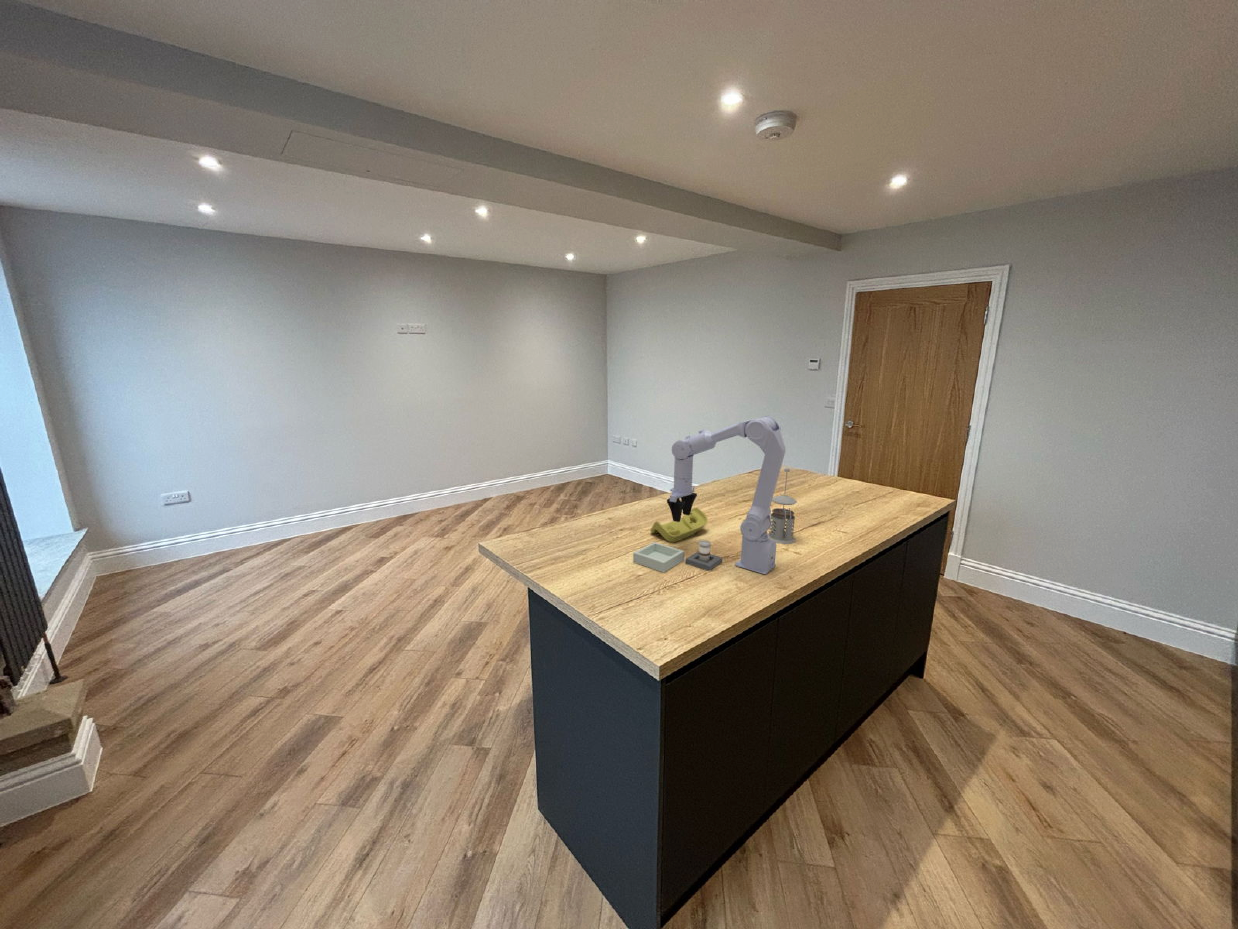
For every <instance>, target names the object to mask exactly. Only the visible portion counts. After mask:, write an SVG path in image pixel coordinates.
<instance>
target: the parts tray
mask: <svg viewBox="0 0 1238 929" xmlns="http://www.w3.org/2000/svg"><path fill="white" fill-rule="evenodd" d="M684 561H685V551H684V550H682V549H679V548H676V547H672V546H669V545H666V544H662V543H659V542H656V541H653V542H651V543H650V544H648V545H646V546H644V547H641V548H640V549H638V550H635V551H634V552H633V553H632V563H635V564H638V565H641V566H643V567H645V568H649V569H653V570H655V571H658V572H660V573H666V572H667V571H669V570H670V569H672V568H674V567H675V566H677V565H679V564H681V563H682V562H684Z"/></svg>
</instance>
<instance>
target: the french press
mask: <svg viewBox="0 0 1238 929" xmlns="http://www.w3.org/2000/svg"><path fill="white" fill-rule="evenodd" d="M783 471H784V472H786V474H785V482H787V481H788V480H787V479H788V473H790V472H791V469H790V468H789V467H785V468H784V469H783ZM784 485H785V487H784V495H783V494H782V495H781V494H780V495H776V496H773V498H772V502H773V503H774V504H777V505H783V507H782V508H781V507H780V508H774V509H772V510H771V514H770V519H771V527H770V528H769V529H768V533H767V534H768V539H769V540H771V541H773V542H775V543H776V544H781V545H791V544H794V543H796V538H795V537H794V530H795V529H794V528H795V521H796V517H795V512H794V511H793V510H791V508H790V507H789V508H788V509H787V508H785V506H792V505H796V504H797V503H798V501H797V500H796V498H794V497H791V496H789V495H786V492H787V491H786V490H787V483H785V484H784Z"/></svg>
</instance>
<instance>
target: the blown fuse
mask: <svg viewBox="0 0 1238 929" xmlns="http://www.w3.org/2000/svg"><path fill="white" fill-rule="evenodd" d="M711 546H712V544H711V541H709V540H704V539H703V540H702V539H701V540H699V543H698V551H699V559H698V560H700V561H703V562H706V563H708V562H709V561H710V560H709V559H710V554H711Z"/></svg>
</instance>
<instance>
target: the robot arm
mask: <svg viewBox="0 0 1238 929" xmlns="http://www.w3.org/2000/svg"><path fill="white" fill-rule="evenodd" d="M781 428H782V427H781V425H780V424H779V423H778V421H776V420H775V418H773V417H772V416H768V415H765V416H761V417H759V418H751V419H747V420H743V421H739V422H735V423H734V424H732V425H728V426H727V427H724V428H721V429H719V430H717V431H714V432H712V431H710V430H708V429H707V430H705V429H702V430H698V433H697V434H694V435H687V436H685V438H684V439H679V440H678V439H677V440H676V441H675V442H674V443H673V444H672V446H671V453H672V455H673V456H674V467H673V471H674V473H673V487H671V488H670V490H669V491H670V492H671V494H670V495H669V498H667V499H666V504H667V505H668V507H669V508H670V513H671V518H672V521H676V522H680V519H681V518H682V514H683V516H684V515H690V512H691V510H692V509H693V506H694V505H693V504H694V502H695V500H696V498H697V496H698V493H697V492H695V485H693V466H694V465H693V464H694V463H693V462H694V456H695V455H698V454H701V453H703V452H706V451H709V450H712V449H714V448H715V447H716V445H717V443H718V442H722V441H724V440H727V439H731V438H734V437H737V436H739V437H741V438H748V440H750V441H751V442H752V443H754V444H755V445H756V446H758V448H760V449H761V451H762V453H763V454H764V456H763V461H762V464H761V468H760V471H759V476H758V480H757V483H756V484H757V485H756V487H755V492H754V495H753V500H752V504H751V506H750V507H749V510H748V512H747V513H746V517H745V519H744V520H743V521H742V522H741V524H740V528H739V529H740V533H741V535H742V537H741V548H740V549H741V550H740V551H741V552H740V559H739V560H738V561H736V562H735V564H734V566H736V567H739V568H743V569H745V570H749V571H753V572H756V573H759V574H762V575H766V574H768V573H769V572H771V570H773V569H774V568H775V567H776V554H777V543H775V542H773V541H771V540H769V539H768V534H769V533H768V531H769V529H770V528H772V527H771V524H772V523H771V521H772V519H771V514H772V510H771V507H772V506H771V505H772V502H773V501H772V498H774V494H775V492H776V491H775V490H776V487H777V483H778V481H779V480H778V479H779V476H780V472H781V469H782V465H783V461H784V457H785V454H786V445H785V442H784V439H783V435H782V432H781V430H782V429H781Z"/></svg>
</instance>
